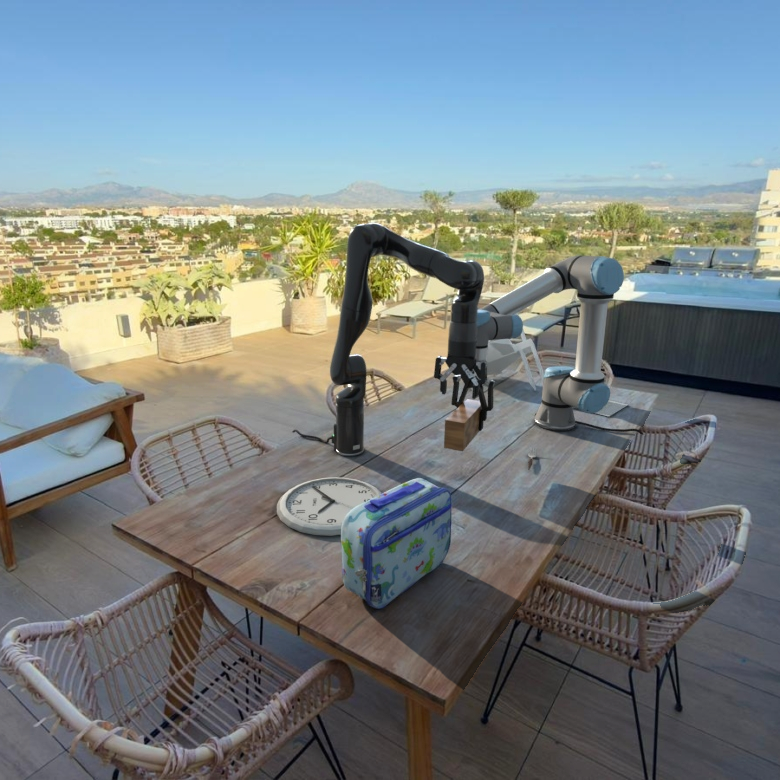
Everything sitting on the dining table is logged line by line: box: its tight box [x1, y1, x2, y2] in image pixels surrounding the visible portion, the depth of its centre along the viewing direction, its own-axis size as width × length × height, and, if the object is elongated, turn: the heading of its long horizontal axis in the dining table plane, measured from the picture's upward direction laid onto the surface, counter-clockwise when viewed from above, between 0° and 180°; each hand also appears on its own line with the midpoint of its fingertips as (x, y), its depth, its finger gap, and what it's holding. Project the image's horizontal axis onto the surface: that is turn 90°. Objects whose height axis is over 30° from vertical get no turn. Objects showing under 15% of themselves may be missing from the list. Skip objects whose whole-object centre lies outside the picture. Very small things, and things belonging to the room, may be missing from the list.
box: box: [443, 398, 482, 452], centre depth 165 cm, size 22×6×9 cm, turn 155°
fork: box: [527, 446, 538, 471], centre depth 171 cm, size 3×16×2 cm, turn 160°
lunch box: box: [340, 477, 452, 610], centre depth 110 cm, size 26×11×21 cm, turn 134°
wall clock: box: [276, 476, 383, 537], centre depth 142 cm, size 30×2×30 cm
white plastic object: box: [486, 312, 545, 391], centre depth 258 cm, size 37×45×31 cm
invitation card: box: [595, 399, 629, 418], centre depth 226 cm, size 21×1×15 cm
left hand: (459, 395), depth 144 cm, fingers open, 8 cm apart
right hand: (470, 427), depth 172 cm, fingers closed on box, 6 cm apart
